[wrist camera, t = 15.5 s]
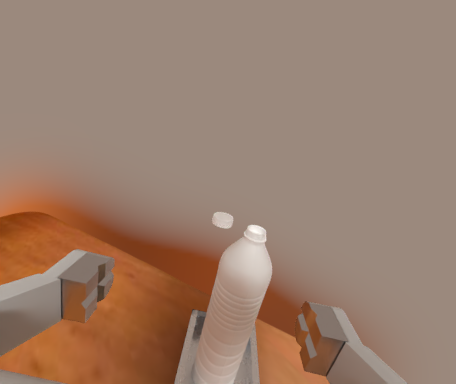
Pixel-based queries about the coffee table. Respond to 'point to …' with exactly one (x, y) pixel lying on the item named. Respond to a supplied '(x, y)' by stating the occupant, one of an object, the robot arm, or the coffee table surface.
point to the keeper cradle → (248, 368)
